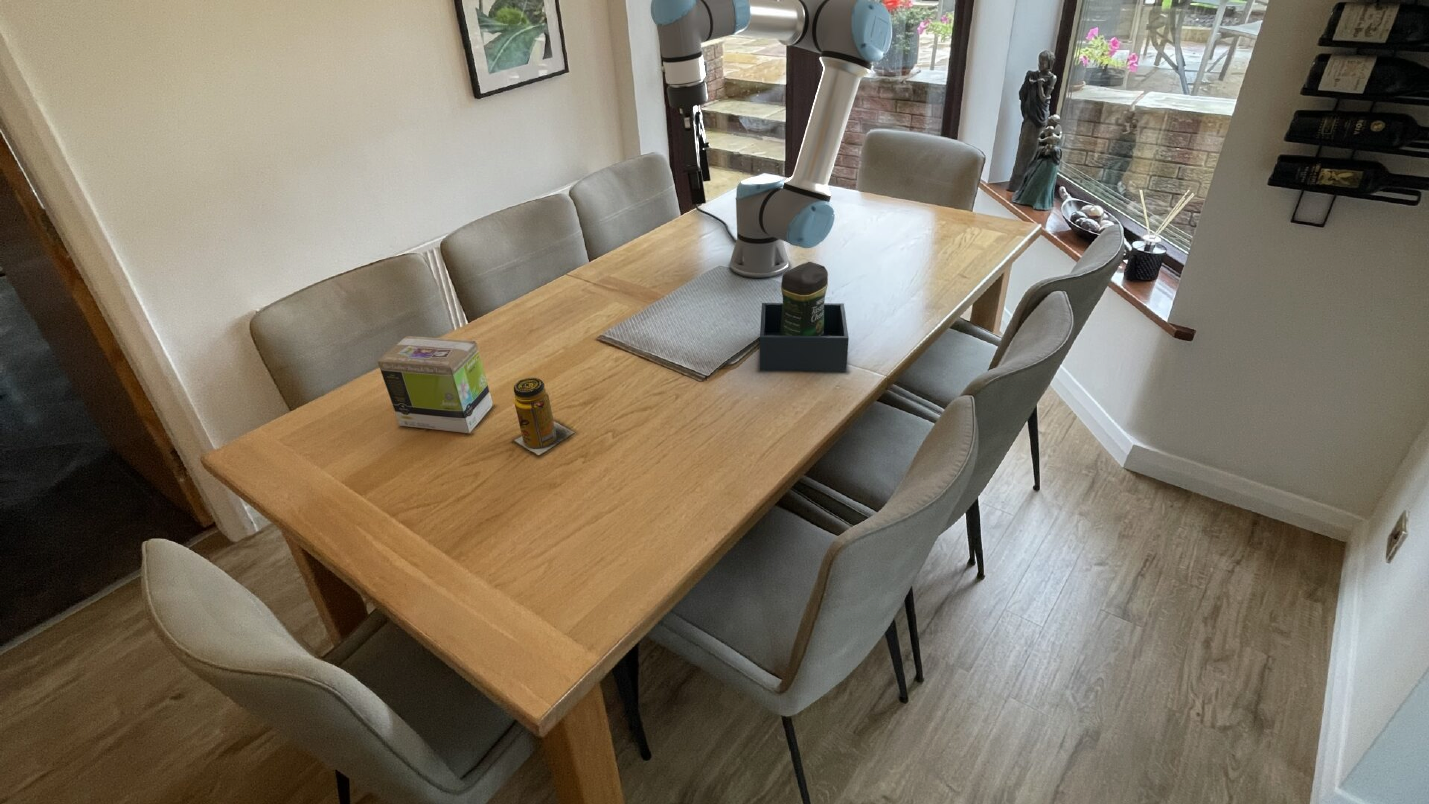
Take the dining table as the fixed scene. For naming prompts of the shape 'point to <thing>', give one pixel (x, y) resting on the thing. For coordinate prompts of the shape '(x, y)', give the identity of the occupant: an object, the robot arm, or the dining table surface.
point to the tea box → (436, 383)
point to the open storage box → (804, 343)
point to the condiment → (536, 417)
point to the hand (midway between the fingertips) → (701, 192)
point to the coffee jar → (804, 300)
